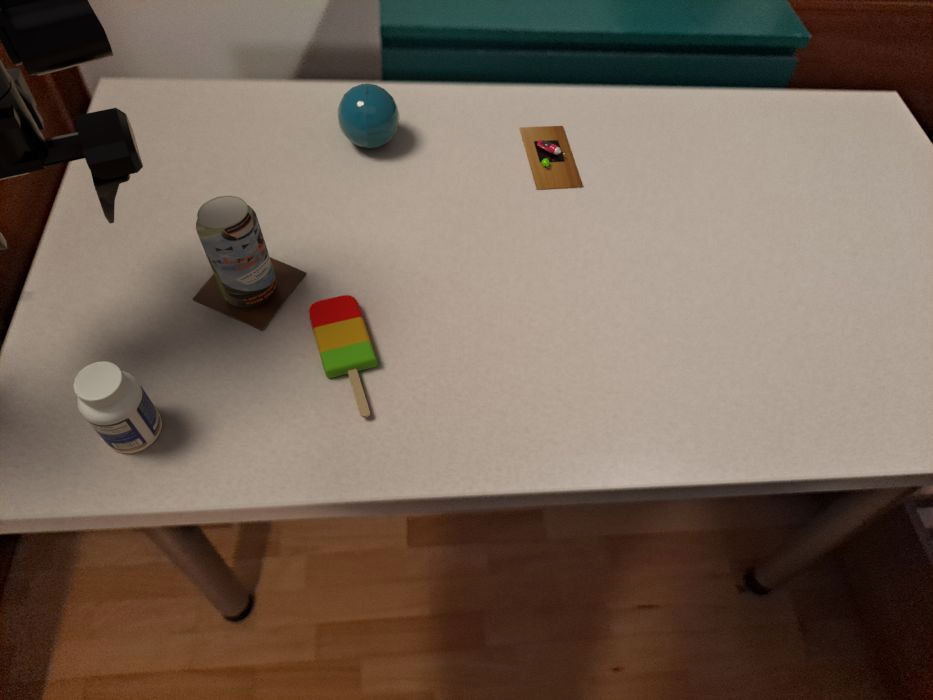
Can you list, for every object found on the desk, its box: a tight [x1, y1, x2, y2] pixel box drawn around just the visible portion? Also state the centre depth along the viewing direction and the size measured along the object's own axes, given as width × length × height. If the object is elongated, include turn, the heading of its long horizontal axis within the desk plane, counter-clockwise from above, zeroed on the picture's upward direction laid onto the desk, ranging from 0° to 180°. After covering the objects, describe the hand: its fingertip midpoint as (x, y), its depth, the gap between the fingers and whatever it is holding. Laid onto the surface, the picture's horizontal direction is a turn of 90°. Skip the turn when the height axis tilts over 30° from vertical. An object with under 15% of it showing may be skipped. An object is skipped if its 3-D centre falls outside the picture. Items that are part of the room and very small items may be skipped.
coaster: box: [192, 256, 307, 332], centre depth 78 cm, size 9×9×1 cm
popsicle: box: [308, 294, 378, 418], centre depth 73 cm, size 6×15×2 cm, turn 19°
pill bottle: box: [73, 361, 163, 454], centre depth 63 cm, size 5×5×10 cm
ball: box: [337, 83, 400, 149], centre depth 89 cm, size 8×8×8 cm
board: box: [519, 125, 584, 191], centre depth 93 cm, size 6×12×2 cm, turn 9°
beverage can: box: [195, 195, 277, 307], centre depth 72 cm, size 6×7×12 cm
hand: (59, 232), depth 64 cm, fingers open, 9 cm apart
